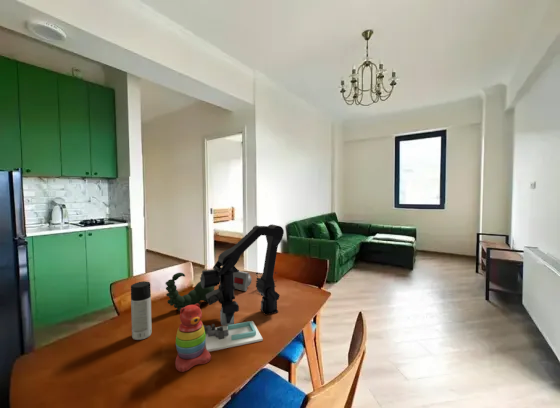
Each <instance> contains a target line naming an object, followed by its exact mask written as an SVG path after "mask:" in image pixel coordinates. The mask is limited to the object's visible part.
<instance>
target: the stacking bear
mask: <svg viewBox="0 0 560 408" xmlns="http://www.w3.org/2000/svg"><path fill="white" fill-rule="evenodd" d="M200 306H201V304H200V305H199V304H198V303H197V304H195V305H188V306H186V307H184V308H183V307H182V309H181V310H180V311H179V320H180V324H179V327H178V328H177V331H176V336H175V347H176V351H177V355H176V358H175V369H176V370H177V371H178V372H181V373H184V372H187V371H188V370H191V368H193V367H194V366H197V365H204V364H207V363H209V362H210V361H211V360H212V355H211V353H210V352H208V351H207V350H206V345H205V341H206V334H205V330H204V326H203V325H204V324H203V321H202V318H203V313H202V309H201V308H200Z"/></svg>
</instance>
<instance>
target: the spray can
mask: <svg viewBox="0 0 560 408" xmlns="http://www.w3.org/2000/svg"><path fill="white" fill-rule="evenodd" d="M151 293H152V292H151V283H150V282H149V281H138V282H135V283H133V284H131V285H130V308H131V309H130V310H131V314H130V315H131V337H132V339H133V340H136V341H140V340H141V341H143V340H144V339H147V338H149V337H150V336H151V335H152V296H151V295H152V294H151Z"/></svg>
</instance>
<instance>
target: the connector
mask: <svg viewBox="0 0 560 408" xmlns="http://www.w3.org/2000/svg"><path fill="white" fill-rule="evenodd" d="M219 314H220V318H219V319H220V325H221V326H227V325H231V324H235V314H234V315H233V317H232V319H231V321H230V323H227V321H226V316H225V314H224V313H223V312H222V310H221V309H220V313H219Z"/></svg>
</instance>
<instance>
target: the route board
mask: <svg viewBox="0 0 560 408" xmlns="http://www.w3.org/2000/svg"><path fill="white" fill-rule="evenodd" d="M249 321H250V320H249ZM250 322H251V323H252V325H253V327H254V328H255V330H256V335H255V336H252V337H247V338H242V339H237V340H231V335H236V334H241V333H246V332H251V329H250V327H249V326H246V327H241V328H235V329H230V330H228V325H224V326H222V325H221V326H217V327H216V325H215V323H211V325H204V324H203V326H204V330H205V334H206V341H205V349H206V350H207V351H208V352H209V353H210V352H215V351H219V350H224V349H227V348H234V347H239V346H243V345H248V344H253V343H258V342H262V341H263V339H264V338H263V336H262V335H261V333H260V331H259V329H258V328H257V326H256V324H255V322H254V321H253V320H251V321H250Z"/></svg>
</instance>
